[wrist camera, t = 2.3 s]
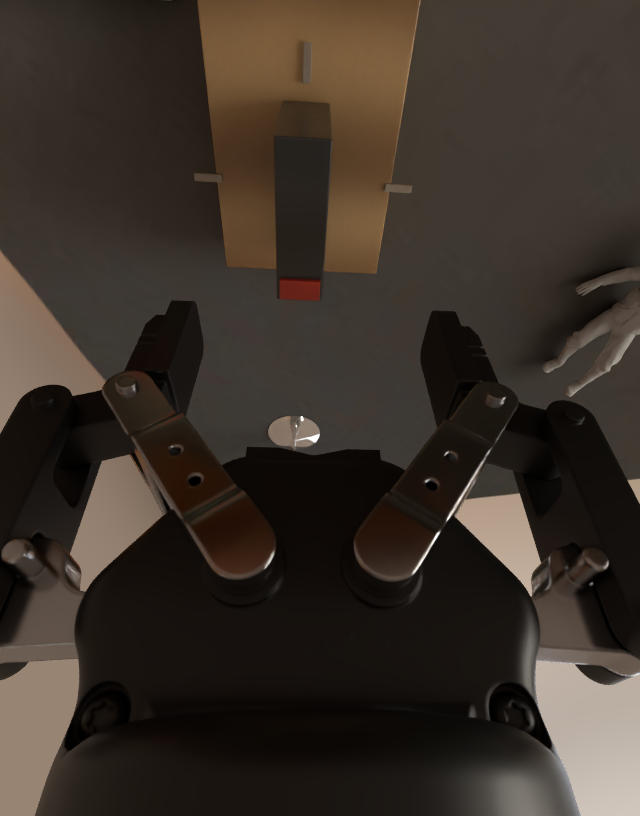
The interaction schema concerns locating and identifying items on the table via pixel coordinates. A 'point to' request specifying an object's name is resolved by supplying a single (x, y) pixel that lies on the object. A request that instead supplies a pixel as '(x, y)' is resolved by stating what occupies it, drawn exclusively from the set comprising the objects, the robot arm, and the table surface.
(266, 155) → the wooden base block
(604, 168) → the table surface
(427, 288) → the table surface
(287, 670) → the robot arm
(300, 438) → the wineglass
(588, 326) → the soldier figure
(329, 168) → the dark grey flat block
